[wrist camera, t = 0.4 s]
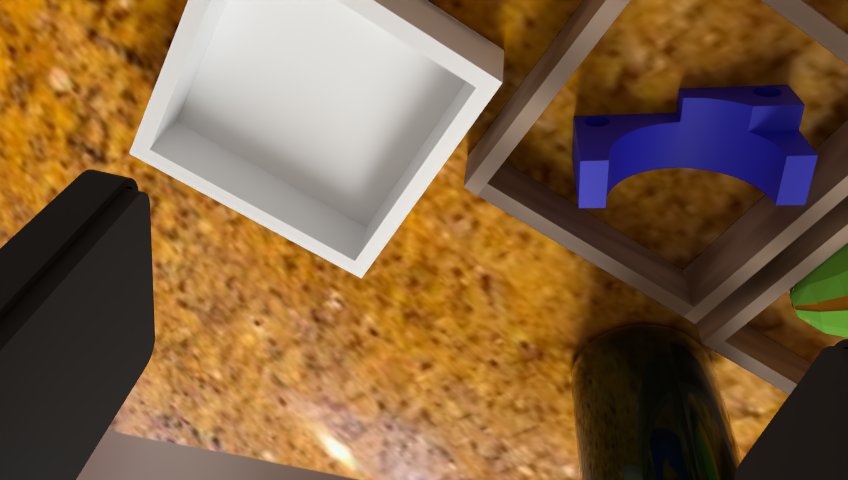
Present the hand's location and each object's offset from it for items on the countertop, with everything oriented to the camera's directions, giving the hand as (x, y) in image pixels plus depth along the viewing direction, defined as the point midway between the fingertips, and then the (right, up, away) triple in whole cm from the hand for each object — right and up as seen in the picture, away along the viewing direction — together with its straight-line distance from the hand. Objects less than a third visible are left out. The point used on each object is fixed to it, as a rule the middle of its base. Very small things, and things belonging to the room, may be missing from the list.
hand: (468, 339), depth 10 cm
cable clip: (+15, +9, +32) cm, 37 cm away
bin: (-7, +11, +33) cm, 36 cm away
